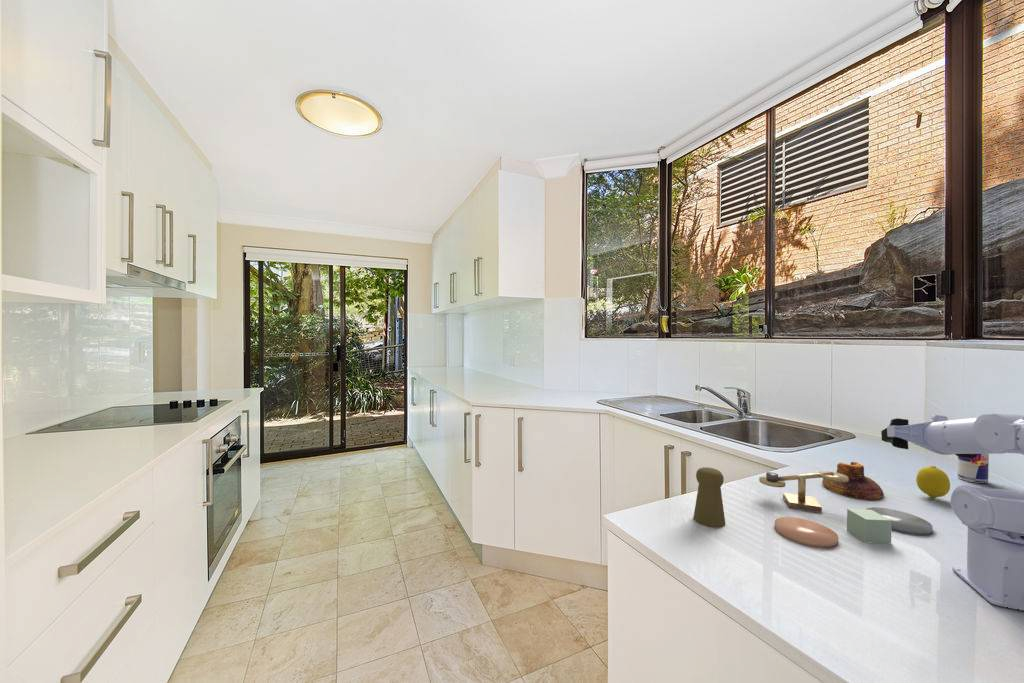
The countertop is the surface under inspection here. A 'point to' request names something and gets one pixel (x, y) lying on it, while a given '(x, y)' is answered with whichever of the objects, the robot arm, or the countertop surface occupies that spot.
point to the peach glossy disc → (806, 532)
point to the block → (869, 526)
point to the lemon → (933, 482)
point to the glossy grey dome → (905, 521)
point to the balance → (801, 488)
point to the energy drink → (974, 468)
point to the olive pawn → (709, 498)
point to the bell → (854, 483)
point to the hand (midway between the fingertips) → (906, 439)
